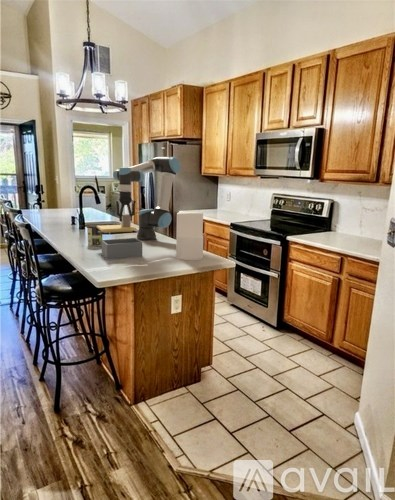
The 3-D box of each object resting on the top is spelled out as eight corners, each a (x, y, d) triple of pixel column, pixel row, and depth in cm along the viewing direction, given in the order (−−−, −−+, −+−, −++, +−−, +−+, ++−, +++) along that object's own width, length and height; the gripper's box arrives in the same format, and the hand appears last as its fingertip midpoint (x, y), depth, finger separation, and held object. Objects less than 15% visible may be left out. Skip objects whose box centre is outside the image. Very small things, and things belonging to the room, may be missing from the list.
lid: (129, 228, 248) (129, 213, 246) (136, 231, 236) (136, 215, 233) (96, 229, 238) (96, 213, 235) (101, 233, 225) (101, 216, 223)
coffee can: (105, 244, 256) (104, 224, 253) (98, 247, 246) (98, 227, 243) (92, 243, 258) (91, 223, 255) (85, 246, 248) (84, 226, 245)
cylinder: (172, 254, 233) (173, 211, 226) (196, 252, 239) (197, 211, 233) (181, 261, 217) (182, 215, 211) (207, 258, 224) (208, 214, 217)
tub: (135, 252, 234) (135, 237, 231) (142, 257, 222) (142, 242, 219) (101, 255, 223) (101, 240, 221) (107, 261, 211) (106, 244, 209)
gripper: (136, 190, 241) (136, 224, 246) (110, 190, 233) (111, 225, 238) (139, 191, 235) (140, 226, 240) (113, 191, 226) (114, 227, 232)
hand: (125, 225), depth 239 cm, fingers closed on lid, 4 cm apart
